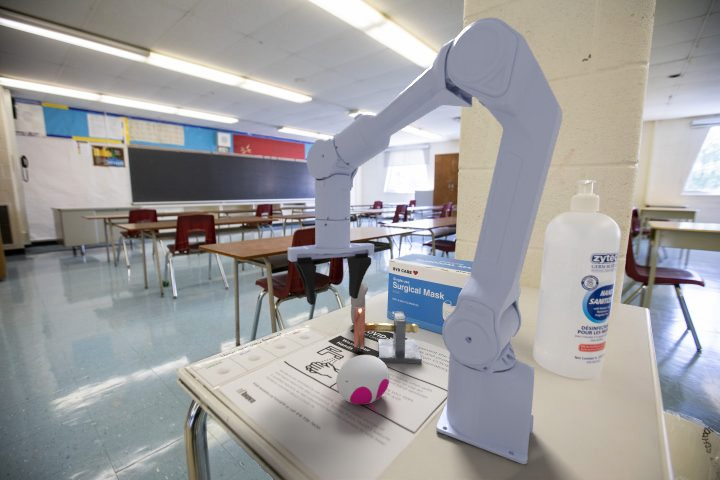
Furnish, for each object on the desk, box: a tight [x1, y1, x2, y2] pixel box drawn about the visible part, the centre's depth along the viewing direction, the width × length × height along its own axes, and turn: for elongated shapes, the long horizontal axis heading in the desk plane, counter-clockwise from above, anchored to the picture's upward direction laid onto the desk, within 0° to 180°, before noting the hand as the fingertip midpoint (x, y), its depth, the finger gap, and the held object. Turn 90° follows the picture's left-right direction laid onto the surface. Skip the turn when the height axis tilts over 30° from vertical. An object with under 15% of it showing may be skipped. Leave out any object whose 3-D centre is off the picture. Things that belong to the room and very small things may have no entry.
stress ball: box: [335, 354, 391, 416], centre depth 41 cm, size 8×8×7 cm
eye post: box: [377, 310, 423, 364], centre depth 54 cm, size 7×7×7 cm
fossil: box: [350, 281, 369, 325], centre depth 66 cm, size 6×4×10 cm, turn 168°
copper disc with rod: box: [353, 307, 420, 348], centre depth 54 cm, size 11×7×7 cm, turn 88°
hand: (332, 299), depth 52 cm, fingers open, 7 cm apart
